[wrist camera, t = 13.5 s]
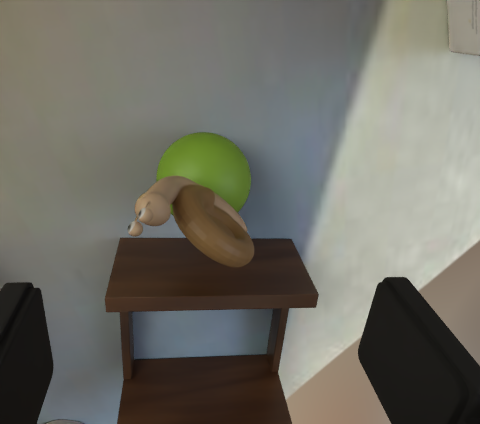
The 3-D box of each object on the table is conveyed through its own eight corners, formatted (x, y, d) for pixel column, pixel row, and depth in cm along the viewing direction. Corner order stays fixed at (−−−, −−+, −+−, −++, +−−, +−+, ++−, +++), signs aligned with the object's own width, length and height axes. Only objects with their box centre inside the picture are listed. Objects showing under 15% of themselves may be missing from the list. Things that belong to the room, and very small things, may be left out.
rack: (120, 237, 27) (104, 297, 22) (291, 238, 29) (319, 294, 24) (126, 368, 33) (115, 445, 27) (271, 362, 35) (290, 432, 29)
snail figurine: (178, 93, 24) (178, 161, 13) (260, 155, 26) (316, 255, 16) (128, 164, 25) (90, 276, 15) (210, 216, 28) (229, 345, 17)
